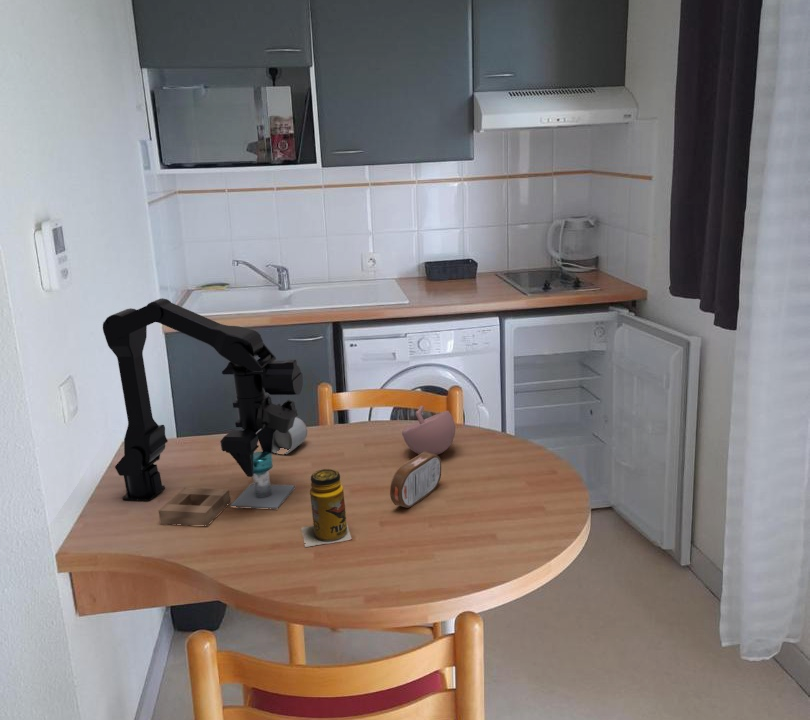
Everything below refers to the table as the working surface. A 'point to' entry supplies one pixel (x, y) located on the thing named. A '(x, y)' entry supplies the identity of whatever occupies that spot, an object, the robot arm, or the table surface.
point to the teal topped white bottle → (262, 473)
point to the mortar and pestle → (430, 433)
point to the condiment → (326, 510)
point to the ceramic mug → (290, 437)
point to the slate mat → (272, 501)
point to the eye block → (194, 506)
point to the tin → (415, 479)
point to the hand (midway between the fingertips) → (259, 466)
